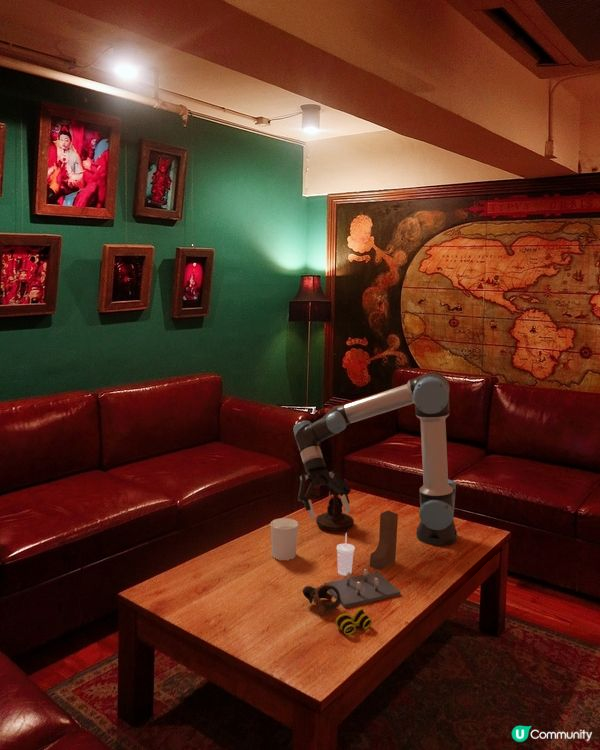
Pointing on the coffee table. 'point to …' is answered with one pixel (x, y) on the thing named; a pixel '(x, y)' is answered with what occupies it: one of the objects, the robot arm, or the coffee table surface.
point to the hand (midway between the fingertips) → (331, 515)
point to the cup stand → (363, 589)
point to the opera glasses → (353, 622)
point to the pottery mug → (322, 593)
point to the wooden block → (385, 541)
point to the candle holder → (284, 538)
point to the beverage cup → (345, 557)
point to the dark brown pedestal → (334, 514)
